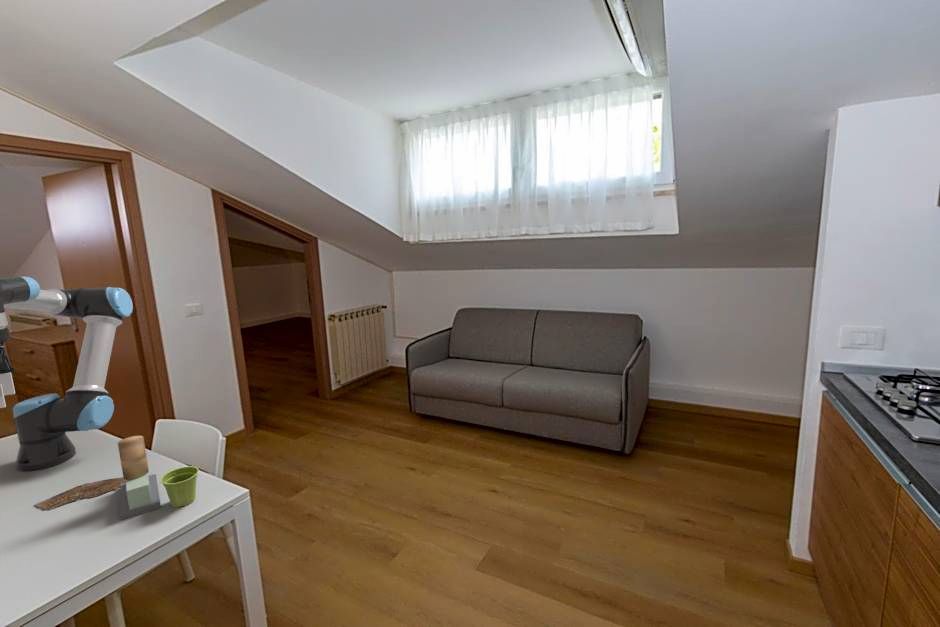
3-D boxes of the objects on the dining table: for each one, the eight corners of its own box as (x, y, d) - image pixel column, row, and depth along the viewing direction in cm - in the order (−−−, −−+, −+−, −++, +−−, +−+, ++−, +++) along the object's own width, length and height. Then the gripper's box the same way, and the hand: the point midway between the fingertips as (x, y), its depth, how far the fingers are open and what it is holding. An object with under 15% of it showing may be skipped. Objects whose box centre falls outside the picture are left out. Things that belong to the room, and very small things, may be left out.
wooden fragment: (30, 516, 121) (29, 513, 121) (37, 498, 130) (36, 495, 130) (143, 484, 137) (143, 481, 137) (143, 470, 145) (142, 467, 145)
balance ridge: (121, 488, 134) (117, 466, 133) (156, 478, 140) (153, 456, 138) (121, 519, 119) (117, 495, 118) (160, 507, 124) (157, 483, 123)
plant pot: (209, 495, 130) (206, 469, 128) (180, 514, 121) (175, 486, 120) (187, 489, 133) (183, 464, 131) (156, 507, 124) (152, 480, 123)
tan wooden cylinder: (122, 474, 128) (117, 440, 126) (147, 467, 132) (142, 433, 130) (124, 482, 124) (118, 447, 122) (149, 474, 128) (144, 440, 126)
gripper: (-21, 324, 126) (-6, 392, 130) (-46, 338, 107) (-28, 418, 111) (16, 320, 131) (29, 386, 134) (-2, 334, 112) (14, 410, 115)
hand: (3, 401), depth 122 cm, fingers open, 13 cm apart
